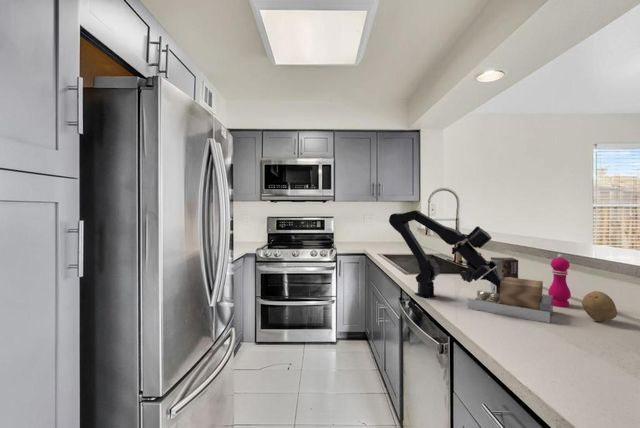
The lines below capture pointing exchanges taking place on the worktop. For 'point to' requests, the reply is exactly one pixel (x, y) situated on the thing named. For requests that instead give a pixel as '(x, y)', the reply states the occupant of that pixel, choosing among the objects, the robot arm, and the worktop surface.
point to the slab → (521, 292)
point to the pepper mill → (559, 282)
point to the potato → (599, 306)
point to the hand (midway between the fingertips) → (502, 287)
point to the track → (512, 307)
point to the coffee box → (504, 270)
